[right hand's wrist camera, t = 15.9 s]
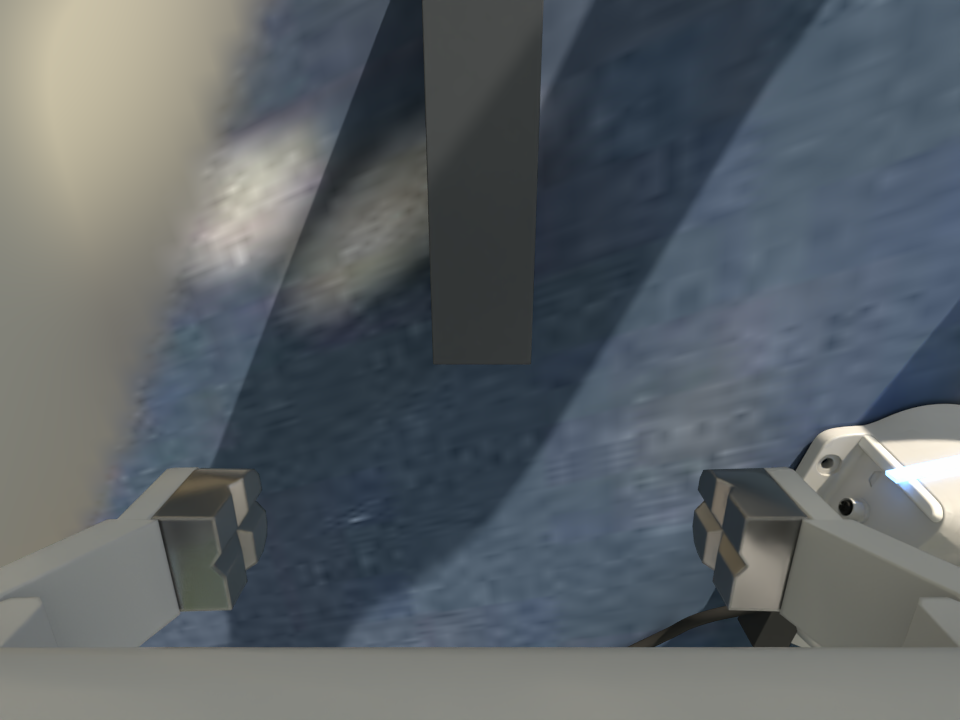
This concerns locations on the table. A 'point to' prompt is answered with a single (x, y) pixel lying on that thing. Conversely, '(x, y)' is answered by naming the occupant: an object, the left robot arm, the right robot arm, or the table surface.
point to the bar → (482, 175)
